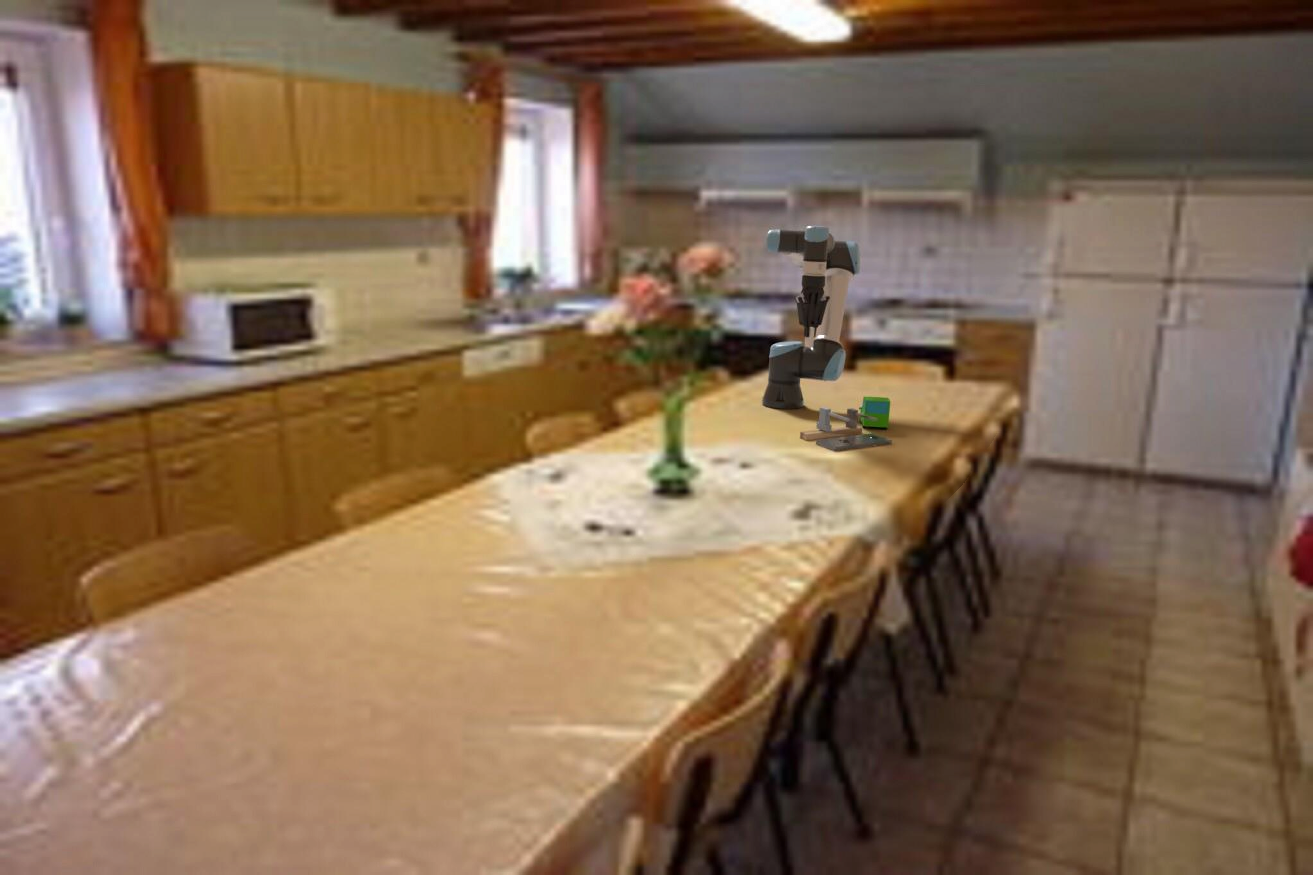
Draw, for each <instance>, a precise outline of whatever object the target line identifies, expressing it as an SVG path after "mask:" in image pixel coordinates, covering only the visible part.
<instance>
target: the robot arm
mask: <svg viewBox="0 0 1313 875" xmlns="http://www.w3.org/2000/svg"><path fill="white" fill-rule="evenodd" d="M765 239H766V240H765V245H766V247H765V248H766V250H767V252H769V253H776V254H778V253H781V254H783V255H784V256H786V257H787V258H789V260H790V261H791V262H792V263H793V265H795V266H797V267H800V268H801V269H802V270H801V272H802V274H803V275H802V276H801V287H802V288H801V291H800V294H799V295H797V296H794V301H795V302H796V308H797V315H798V323H799V325H800V326H802V327H803V337H804V344H803V342H802V341H796V340H795V341H792V340H791V341H781V342H776V343H774V344H772V345H771V346H770V351H769V356H768V358H769V360H768V361H769V362H768V375H767V376H768V378H767V379H768V380H767V385H766V388H765V391H764V394H763V396H762V397H761V398H762V399H761V404H762V405H763V406H765V407H768V408H773V409H782V410H794V409H801V408H803V407H804V402H805V401H804V396H803V392H802V388H801V379H803V380H814V381H823V382H836V381H838V380H840V377H841V376H842V374H843V371H844V367H845V365H846V364H845V363H846V356H847V355H846V350H845V349H843V348H844V346H843V344H842V342H841V341H840V337H841V333H842V332H841V331H842V327H843V326H842V325H843V319H844V314H845V308H846V302H847V301H846V300H847V295H848V289H849V284H850V283H851V282H852V281H853V280H854V278H855V276H857V275H859V274H860V272H861V271H860V268H861V259H860V256H861V254H860V246H859V244H858V243H857V242H855V241H848V240H844V241H843V240H842V241H841V240H840V241H839V240H835V237H834V236H833V234H832V233H831V232H830V230H829V227H828V226H826V225H825V226H823V225H808V226H806V227H805V230H793V229H792V230H790V229H787V230H786V229H779V228H778V229H770V230H769V231H768V232H767V234H766V238H765Z"/></svg>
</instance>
